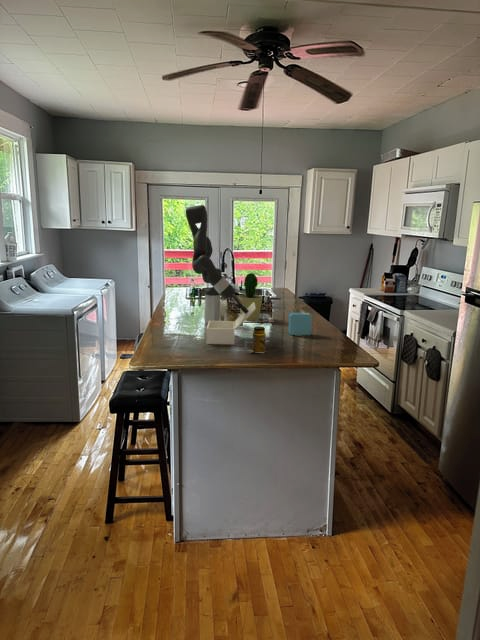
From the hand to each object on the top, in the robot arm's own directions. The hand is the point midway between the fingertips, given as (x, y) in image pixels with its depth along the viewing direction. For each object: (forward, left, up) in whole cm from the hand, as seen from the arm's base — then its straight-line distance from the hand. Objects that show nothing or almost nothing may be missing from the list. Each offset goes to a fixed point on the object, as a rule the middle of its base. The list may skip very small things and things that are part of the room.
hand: (247, 312), depth 232 cm
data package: (-24, +23, -15) cm, 37 cm away
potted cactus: (-51, -15, -15) cm, 55 cm away
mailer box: (+4, -13, -15) cm, 20 cm away
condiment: (+18, +11, -15) cm, 26 cm away
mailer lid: (0, -1, -1) cm, 2 cm away
